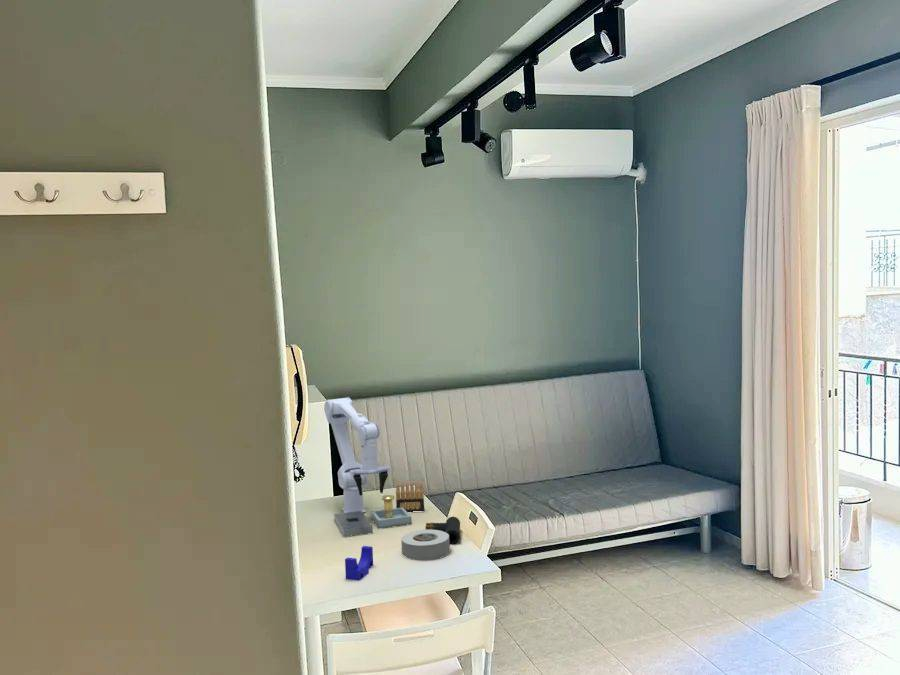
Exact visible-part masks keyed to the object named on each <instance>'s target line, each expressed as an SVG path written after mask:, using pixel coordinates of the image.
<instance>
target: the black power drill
mask: <svg viewBox="0 0 900 675" xmlns="http://www.w3.org/2000/svg"><path fill="white" fill-rule="evenodd" d="M425 530H439V531H443V532H446V533H448V534H449V542H450V545H457V544H458V543H459V542H460V539H461V538H460V537H461V521H460V519H459V517H456V516H450V517H448V518H447V519H446V521H445V522H425Z"/></svg>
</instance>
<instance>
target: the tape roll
mask: <svg viewBox="0 0 900 675" xmlns="http://www.w3.org/2000/svg"><path fill="white" fill-rule="evenodd" d="M400 540H401V541H400V542H401V554H403V555H404V556H406V557H407V558H406V557H405V558H406V559H409V558H410V560H413V559H414V561H431V560H432V561H433V560H438V559H441V558H440V557H442V556H444V557H446V556H447V554H448V553H449V554H450V552H451V548H450V547H451V544H450V542H449V534H448V533H446V532H443V531H439V530H426V529H418V530H414V531H411V532H408V533H406V534H404V535H402V536H401V539H400ZM449 554H448V555H449ZM403 555H402V556H403ZM445 555H446V556H445ZM404 556H403V557H404ZM437 558H438V559H437ZM442 558H443V557H442Z"/></svg>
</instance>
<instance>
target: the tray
mask: <svg viewBox="0 0 900 675" xmlns="http://www.w3.org/2000/svg"><path fill="white" fill-rule="evenodd" d="M370 512H371V514H370V516H371V517H370V518H371V520H373V521H374V522H373V521H372V522H373V523H374V525H375V524H376V525H377V526H376V525H375V526H376V528H377V529H378V528H382V529H387V528H386V527H389V528H394V527H393V526H397V527H401V526H400V525H404V526H408V525H407V524H412V516H411V513H408V512H407V511H406V510H405V509H404V508H393V518H387V519H385V512H384V509H380V510H373V511H370Z"/></svg>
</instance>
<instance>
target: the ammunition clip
mask: <svg viewBox="0 0 900 675" xmlns="http://www.w3.org/2000/svg"><path fill="white" fill-rule="evenodd" d="M423 486H424V484H423V481H422V480H420V481H419V483H418V481H417V480H415V482H413V480H411V481H410V485H409V482H408V480H406V482H405V484H404V481H403V480H401V483H399V481H398V480H397V481H396V487H395V503H396V506H395V507H396V508H404V509H405V510H406V511H407V512H412V513H414V512H413V511H425V510H426V508H425V500H424V499H425V496H424V495H425V494H424V493H425V492H424V487H423Z"/></svg>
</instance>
